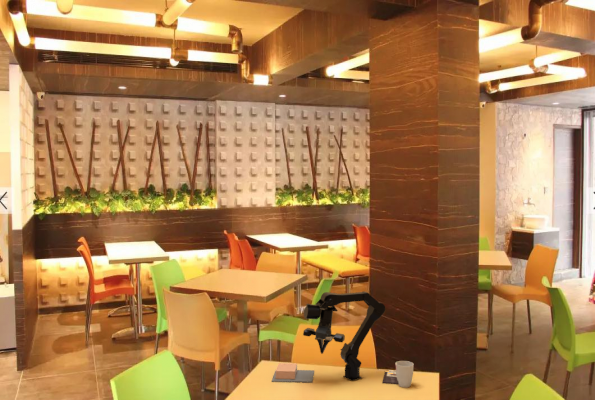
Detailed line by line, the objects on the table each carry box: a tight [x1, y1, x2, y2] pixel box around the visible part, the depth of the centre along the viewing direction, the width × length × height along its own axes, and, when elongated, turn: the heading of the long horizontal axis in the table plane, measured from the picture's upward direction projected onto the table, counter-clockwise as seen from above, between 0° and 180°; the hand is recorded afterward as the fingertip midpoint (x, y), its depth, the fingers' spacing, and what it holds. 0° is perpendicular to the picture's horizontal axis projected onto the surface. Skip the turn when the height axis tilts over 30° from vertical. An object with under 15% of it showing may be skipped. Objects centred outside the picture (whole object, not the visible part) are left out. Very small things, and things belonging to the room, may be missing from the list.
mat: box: [271, 369, 315, 384], centre depth 260 cm, size 19×16×1 cm
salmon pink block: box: [275, 362, 298, 379], centre depth 260 cm, size 4×12×9 cm
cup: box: [395, 360, 414, 388], centre depth 247 cm, size 8×8×10 cm
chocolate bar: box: [381, 369, 399, 385], centre depth 258 cm, size 9×1×18 cm
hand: (321, 353), depth 254 cm, fingers closed
